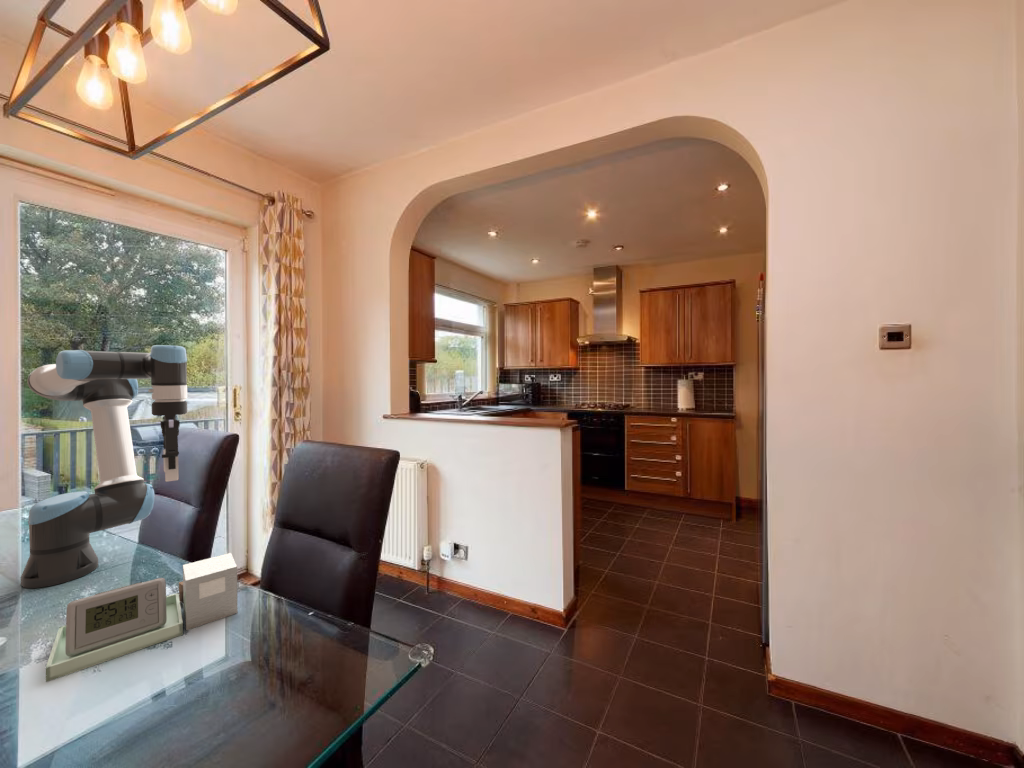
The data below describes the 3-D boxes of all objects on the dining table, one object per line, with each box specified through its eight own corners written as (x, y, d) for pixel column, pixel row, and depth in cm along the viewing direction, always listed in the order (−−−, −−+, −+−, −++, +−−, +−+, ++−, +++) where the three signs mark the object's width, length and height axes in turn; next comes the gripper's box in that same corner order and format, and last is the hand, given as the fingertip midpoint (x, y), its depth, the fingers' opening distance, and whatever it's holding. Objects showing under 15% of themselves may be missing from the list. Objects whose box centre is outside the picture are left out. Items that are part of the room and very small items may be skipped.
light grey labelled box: (183, 610, 99) (182, 564, 99) (231, 595, 106) (230, 552, 106) (186, 630, 92) (185, 581, 91) (237, 613, 99) (237, 566, 98)
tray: (59, 639, 88) (59, 627, 88) (178, 603, 103) (178, 592, 102) (45, 682, 76) (45, 668, 76) (182, 634, 90) (182, 622, 90)
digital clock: (59, 662, 81) (58, 612, 80) (78, 636, 88) (76, 590, 88) (162, 635, 89) (161, 589, 89) (171, 614, 97) (170, 572, 97)
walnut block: (179, 601, 104) (178, 582, 104) (201, 592, 108) (201, 574, 108) (186, 607, 101) (186, 588, 101) (209, 597, 105) (209, 579, 105)
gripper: (151, 398, 115) (152, 469, 116) (151, 404, 97) (153, 488, 98) (184, 397, 121) (185, 465, 121) (190, 402, 102) (191, 482, 103)
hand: (170, 475), depth 110 cm, fingers open, 13 cm apart
